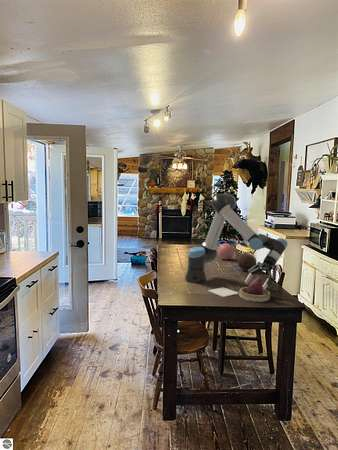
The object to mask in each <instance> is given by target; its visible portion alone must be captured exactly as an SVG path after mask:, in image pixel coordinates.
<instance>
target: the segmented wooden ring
mask: <svg viewBox="0 0 338 450" xmlns="http://www.w3.org/2000/svg"><path fill="white" fill-rule="evenodd" d="M247 289H248V286H245V287H244V286H243V287H241V288H240V289H239V292H238V293H239V294H238V296H239V297H240V298H241V299H243V300H246V301H250V302H263V303H264V302H267V301H270V298H271V292H270V290H268V289H264V288H262V290H263V295H252V294H247V293H246V292H247Z"/></svg>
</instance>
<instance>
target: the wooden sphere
mask: <svg viewBox="0 0 338 450" xmlns="http://www.w3.org/2000/svg"><path fill="white" fill-rule="evenodd" d="M237 264H238V267H239V268H240V269H241V270H243V271H245V272H248V270H249V269H251V268H252V267H253V266H255V265H256V264H257V258H256V256H255V255H254V254H253V253H250V252H243V253H241V254H240V255H239V256H238V258H237Z"/></svg>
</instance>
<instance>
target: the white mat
mask: <svg viewBox="0 0 338 450" xmlns="http://www.w3.org/2000/svg"><path fill="white" fill-rule="evenodd" d="M207 292H210V293H212V294H214V295H217V296H220V297H222V298H225V297H226V298H227V297H230V296H231V297H232V296H235V295H239V292H238V291H235V290H233V289H229V288H226V287H224V286H222V287H217V288H213V289H208V290H207Z"/></svg>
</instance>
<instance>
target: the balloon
mask: <svg viewBox="0 0 338 450" xmlns="http://www.w3.org/2000/svg"><path fill="white" fill-rule="evenodd" d="M237 251H239V248H236V247H234V246H232V244H230V243H226V242H224V243H221V244H220V245H219V246H218V247H217V255H218V256H219V258H221V259H222V260H226V261H228V260H230V259H232V258H233V257H234V255H235V253H237Z"/></svg>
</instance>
